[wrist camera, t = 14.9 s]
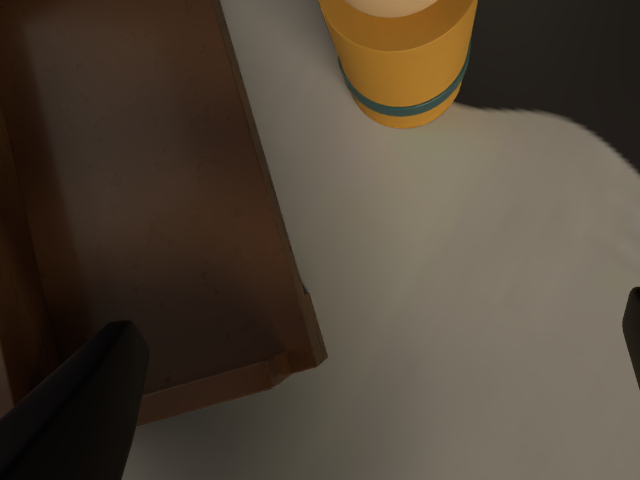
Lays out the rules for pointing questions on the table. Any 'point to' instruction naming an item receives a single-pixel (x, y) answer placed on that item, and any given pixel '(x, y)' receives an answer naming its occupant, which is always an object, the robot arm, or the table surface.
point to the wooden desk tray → (140, 204)
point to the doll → (401, 55)
